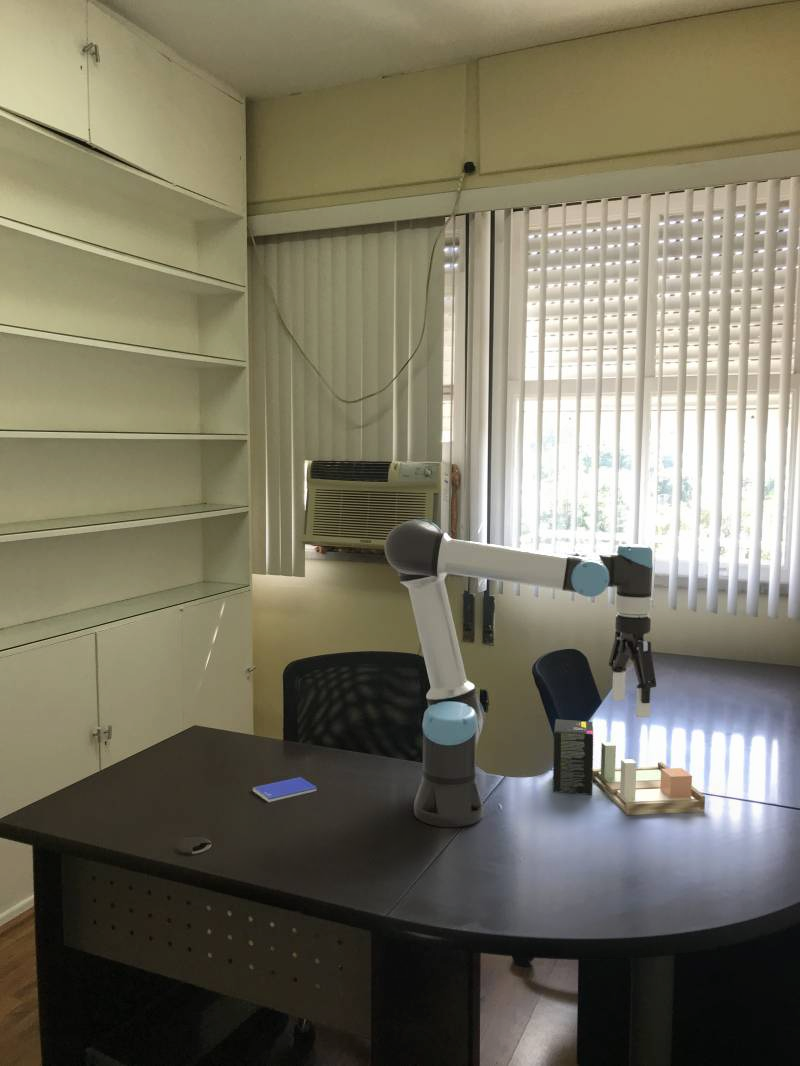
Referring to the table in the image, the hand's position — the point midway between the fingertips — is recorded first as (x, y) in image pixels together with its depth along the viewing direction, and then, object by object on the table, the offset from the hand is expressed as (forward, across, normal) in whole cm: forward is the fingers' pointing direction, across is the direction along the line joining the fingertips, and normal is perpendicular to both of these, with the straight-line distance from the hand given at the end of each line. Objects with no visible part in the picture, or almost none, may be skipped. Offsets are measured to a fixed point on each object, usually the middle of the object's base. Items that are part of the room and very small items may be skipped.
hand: (630, 708), depth 192 cm
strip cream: (+21, 0, -7) cm, 22 cm away
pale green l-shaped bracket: (+21, +12, -7) cm, 25 cm away
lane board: (+22, +6, -7) cm, 24 cm away
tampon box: (+23, +13, +8) cm, 27 cm away
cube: (+20, 0, -11) cm, 23 cm away
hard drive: (+23, +18, +76) cm, 82 cm away
